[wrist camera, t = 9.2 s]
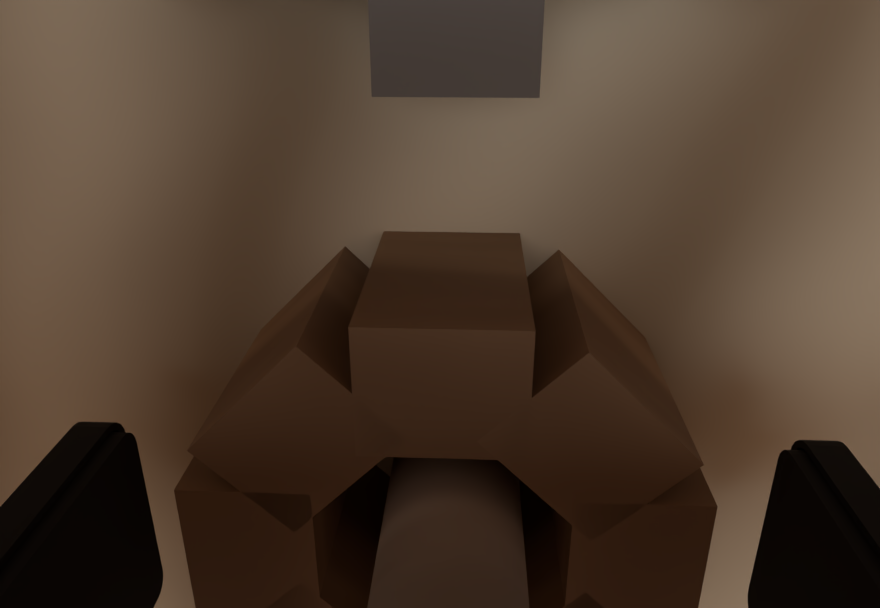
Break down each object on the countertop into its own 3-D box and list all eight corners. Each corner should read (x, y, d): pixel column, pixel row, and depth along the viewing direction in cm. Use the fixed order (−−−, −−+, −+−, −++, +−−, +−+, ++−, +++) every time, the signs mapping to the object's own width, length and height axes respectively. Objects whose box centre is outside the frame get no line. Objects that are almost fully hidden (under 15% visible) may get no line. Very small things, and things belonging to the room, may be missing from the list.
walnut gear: (233, 228, 12) (142, 322, 9) (675, 235, 11) (750, 335, 8) (274, 563, 15) (217, 727, 11) (628, 575, 14) (670, 746, 11)
